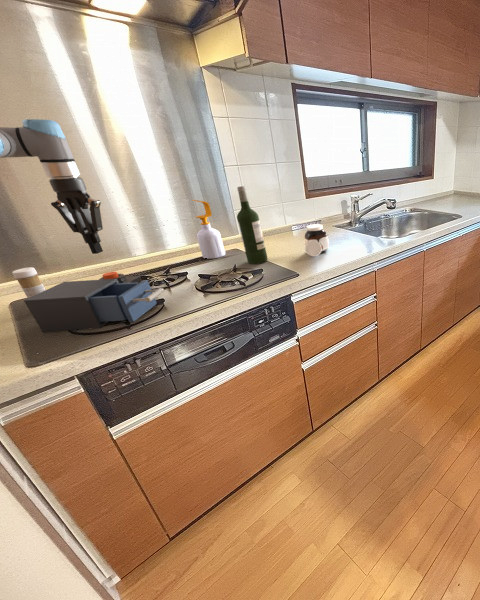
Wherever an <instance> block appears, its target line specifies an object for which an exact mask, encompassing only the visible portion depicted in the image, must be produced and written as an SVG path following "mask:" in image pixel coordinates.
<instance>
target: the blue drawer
mask: <svg viewBox="0 0 480 600" xmlns="http://www.w3.org/2000/svg"><path fill="white" fill-rule="evenodd" d="M164 292H165V290H164V287H159V288H157V289H156V288H155V289H152V288H151V285H150V283H149V280H148V279H147V280H146V279H144V280H142V282H140V283H139V284H138V282H136V283H120V284H112V285H110V286H108V287H106V288H105V289H103V290H101V291H99V292H98V293H96V294H94V295H92V296H90V297H89V298H88V299H89V301H90V303H91V305H92V307H93V309H94V311H95V313H96V315H97V317H98V319H99V321H100V322H108V321H110V322H118V321H119V322H120V321H126V320H128V323H132V322H133V323H134V322H135V321H137V320H138V319H139V318H141V317H142V316H143V315H144V314H146V313H147V312H148V311H149V310H151V309H152V308H153V307H155V306H156V305H157V304H158V303H157V300H156V298H157V297H158V296H160V295H161V294H162V293H164ZM108 323H109V322H108Z"/></svg>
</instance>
